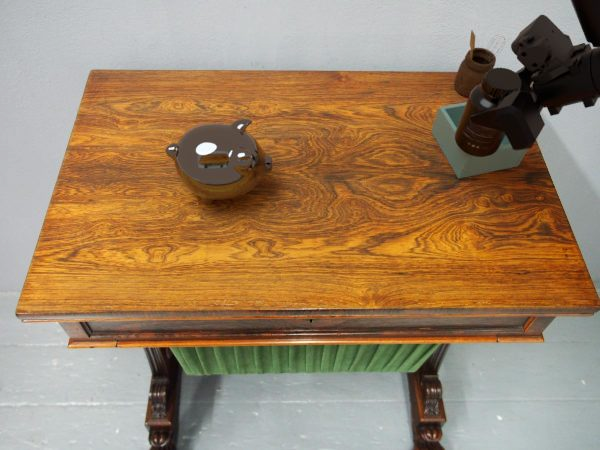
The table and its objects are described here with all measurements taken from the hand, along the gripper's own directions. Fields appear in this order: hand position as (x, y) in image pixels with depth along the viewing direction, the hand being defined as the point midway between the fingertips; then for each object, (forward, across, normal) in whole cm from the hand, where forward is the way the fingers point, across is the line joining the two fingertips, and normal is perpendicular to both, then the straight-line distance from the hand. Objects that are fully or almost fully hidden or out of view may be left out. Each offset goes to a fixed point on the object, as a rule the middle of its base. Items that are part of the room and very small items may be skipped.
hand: (481, 105), depth 70 cm
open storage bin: (+9, -6, +10) cm, 14 cm away
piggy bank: (+29, +26, -10) cm, 40 cm away
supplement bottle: (+4, 0, +6) cm, 7 cm away
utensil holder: (+14, -19, +5) cm, 24 cm away
